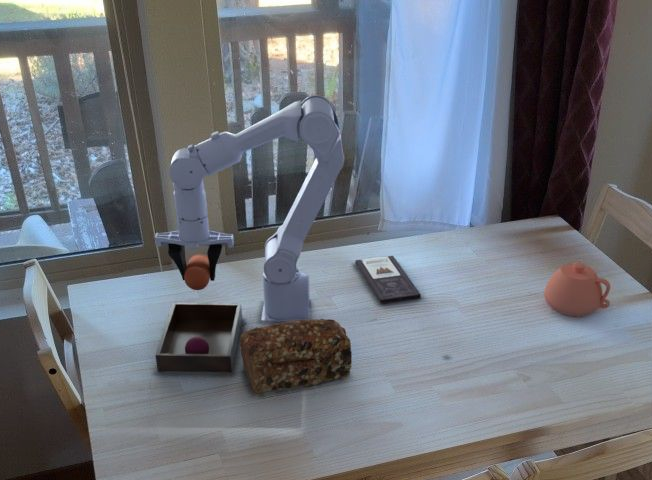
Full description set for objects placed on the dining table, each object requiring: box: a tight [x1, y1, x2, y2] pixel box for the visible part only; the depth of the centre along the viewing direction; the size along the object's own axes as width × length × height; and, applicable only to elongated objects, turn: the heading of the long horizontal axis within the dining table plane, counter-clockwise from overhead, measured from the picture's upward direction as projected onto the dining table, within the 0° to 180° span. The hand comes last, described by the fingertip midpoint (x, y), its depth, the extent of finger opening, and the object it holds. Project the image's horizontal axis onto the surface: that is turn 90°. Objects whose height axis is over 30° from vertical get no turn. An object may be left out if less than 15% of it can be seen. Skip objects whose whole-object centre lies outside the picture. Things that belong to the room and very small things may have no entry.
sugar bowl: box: [543, 261, 611, 318], centre depth 174 cm, size 12×14×10 cm
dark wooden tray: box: [154, 302, 243, 373], centre depth 158 cm, size 13×18×4 cm
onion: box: [185, 337, 209, 354], centre depth 153 cm, size 4×4×4 cm
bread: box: [239, 318, 353, 394], centre depth 150 cm, size 19×11×10 cm, turn 111°
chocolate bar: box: [355, 255, 422, 305], centre depth 182 cm, size 9×1×18 cm
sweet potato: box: [183, 253, 211, 291], centre depth 162 cm, size 9×5×5 cm, turn 3°
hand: (198, 278), depth 163 cm, fingers closed on sweet potato, 5 cm apart
